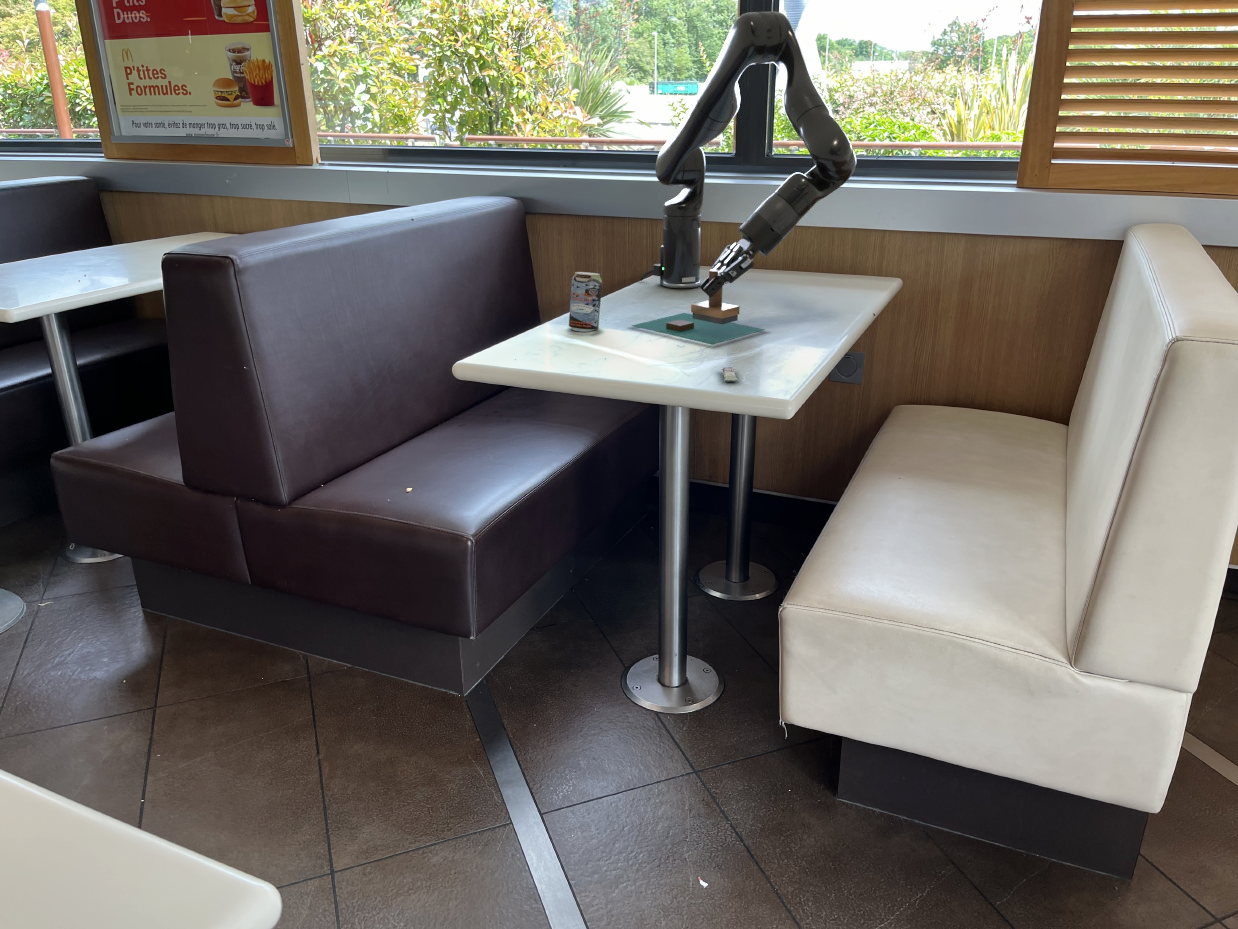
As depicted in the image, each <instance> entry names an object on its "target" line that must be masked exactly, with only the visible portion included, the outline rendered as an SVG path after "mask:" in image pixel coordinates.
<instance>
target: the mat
mask: <svg viewBox="0 0 1238 929" xmlns="http://www.w3.org/2000/svg"><path fill="white" fill-rule="evenodd" d="M676 320H684V321H689V322H694V328H693V329H689V330H685V331H682V332H679V331H675V330H671V329H666V323H668V322H672V321H676ZM631 327H635V328H639V329H644V330H648V331H653V332H656V333H660V334H665V335H668V336H673V337H678V338H682V339H687V340H690V341H695V342H699V343H704V344H707V345H708V344H709V345H716V344H720V343H724V342H727V341H732V340H735V339H738V338H741V337H746V336H748V335H752V334H756V333H759V332H762V331H765V330H766V329H764V328H761V327H755V326H750V325H745V324H742V323H741V324H740V323H735V322H730V323H726V324H723V325H722V324H717V323H712V322H707V321H702V320H697V319H693V313H688V312H682V313H678V314H673V315H670V316H665V317H661V318H657V319H653V320H648V321H645V322H640V323H637V324H633V325H631Z"/></svg>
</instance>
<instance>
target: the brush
mask: <svg viewBox="0 0 1238 929" xmlns="http://www.w3.org/2000/svg"><path fill="white" fill-rule="evenodd" d="M720 270H721V269H713V268H712V269H709V270H708V276H709V282H710V281H711V280H712V279H713V278H714V277H715V276H717V274H718V272H719V271H720ZM717 277H718V276H717ZM723 287H724V285H723V286H722V287H721V288H720V289H719V290H718V291H717V292H716V293H715V294H714V295H713V296H712V297H709V296H708V300H704V301H701V302H696V303H692V304H691V305H690V312H691V313H690V314H692V315H693V319H697V320H702V321H707V322H712V323H717V324H722V325H723V324H726V323H730V322H731V323H735V322H738V318H739V315H740V308H741V306H740V305H735V304H729V303H724V302H723Z"/></svg>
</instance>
